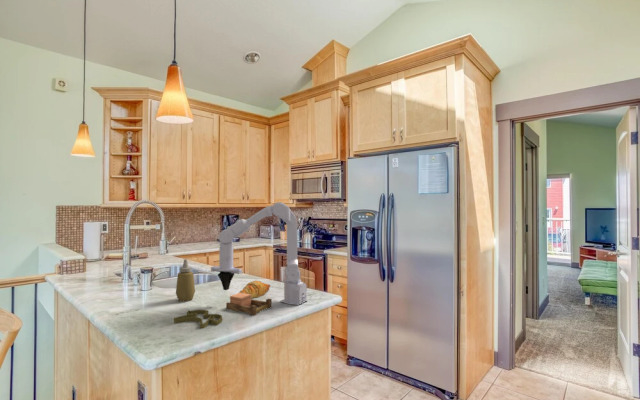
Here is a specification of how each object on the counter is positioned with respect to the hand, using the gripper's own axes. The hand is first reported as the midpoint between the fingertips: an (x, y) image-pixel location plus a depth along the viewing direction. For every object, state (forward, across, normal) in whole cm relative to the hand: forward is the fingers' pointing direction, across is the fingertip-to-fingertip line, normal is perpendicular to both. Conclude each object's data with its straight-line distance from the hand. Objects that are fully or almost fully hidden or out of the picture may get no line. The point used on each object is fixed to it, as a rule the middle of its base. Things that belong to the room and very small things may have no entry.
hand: (226, 289), depth 143 cm
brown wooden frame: (+6, -12, +1) cm, 13 cm away
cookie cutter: (+7, -3, +20) cm, 21 cm away
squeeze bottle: (+7, +21, +1) cm, 22 cm away
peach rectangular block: (+6, -8, +1) cm, 10 cm away
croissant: (+7, -3, -17) cm, 18 cm away
